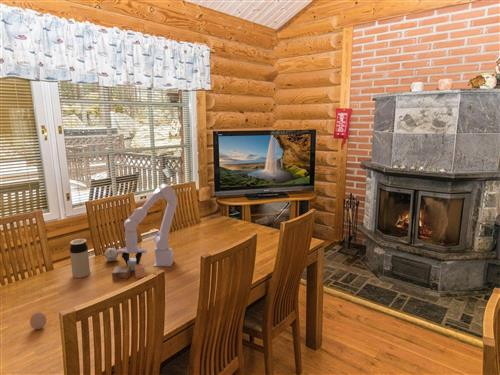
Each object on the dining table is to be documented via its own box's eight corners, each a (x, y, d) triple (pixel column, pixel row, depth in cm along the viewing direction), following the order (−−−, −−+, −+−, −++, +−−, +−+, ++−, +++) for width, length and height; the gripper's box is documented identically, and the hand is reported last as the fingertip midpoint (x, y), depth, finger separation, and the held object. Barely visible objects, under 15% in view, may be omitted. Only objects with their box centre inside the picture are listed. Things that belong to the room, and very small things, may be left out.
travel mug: (93, 272, 173) (90, 239, 169) (81, 279, 165) (77, 244, 162) (81, 270, 175) (78, 237, 172) (68, 277, 168) (65, 242, 164)
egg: (27, 330, 125) (25, 314, 123) (40, 323, 129) (38, 307, 128) (37, 333, 123) (35, 317, 122) (50, 326, 128) (48, 309, 126)
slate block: (138, 266, 180) (138, 257, 179) (136, 270, 176) (135, 261, 175) (130, 266, 180) (129, 258, 179) (127, 270, 175) (127, 261, 174)
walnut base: (130, 273, 173) (130, 266, 172) (127, 279, 166) (126, 272, 165) (116, 273, 172) (116, 266, 171) (112, 280, 165) (111, 272, 164)
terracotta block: (145, 272, 173) (144, 263, 172) (144, 276, 169) (144, 267, 168) (135, 274, 172) (135, 264, 171) (135, 277, 167) (134, 268, 166)
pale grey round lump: (113, 268, 186) (111, 259, 179) (100, 262, 187) (98, 252, 180) (123, 256, 192) (122, 246, 185) (110, 249, 193) (108, 240, 186)
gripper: (147, 238, 179) (149, 262, 182) (120, 239, 179) (122, 262, 181) (143, 243, 172) (145, 268, 175) (115, 243, 172) (117, 268, 174)
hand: (133, 266), depth 177 cm, fingers closed on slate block, 4 cm apart
